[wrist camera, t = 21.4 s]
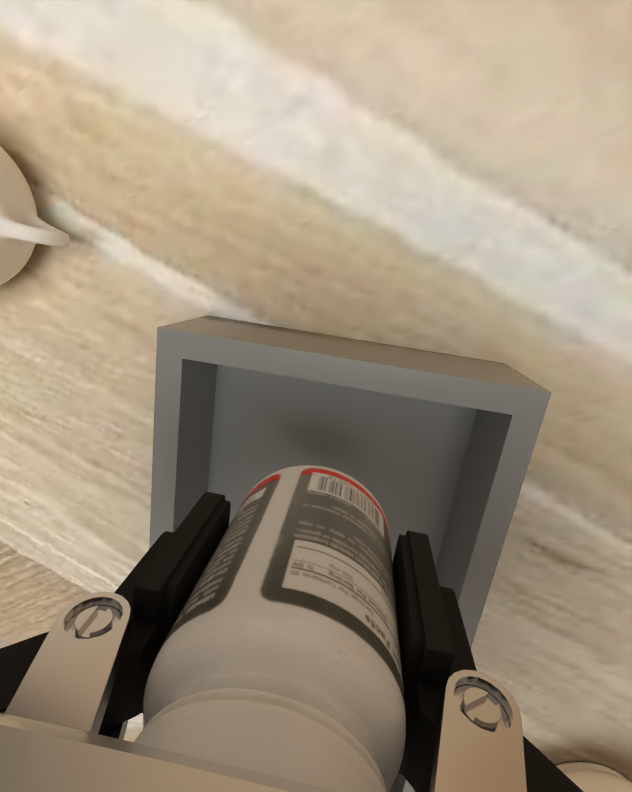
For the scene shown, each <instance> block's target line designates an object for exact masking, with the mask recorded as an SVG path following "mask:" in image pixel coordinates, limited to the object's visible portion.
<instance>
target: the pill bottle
mask: <svg viewBox="0 0 632 792" xmlns="http://www.w3.org/2000/svg"><path fill="white" fill-rule="evenodd" d="M143 717H144V726H145V728H144V729H143V731H142V732H141V733H140V734H139V736H138V737H137V739H136V740H135V741H134V743H137V744H142V745H146V746H150V747H154V748H159V749H163V750H167V751H171V752H176V753H180V754H184V755H188V756H192V757H196V758H201V759H205V760H209V761H213V762H217V763H221V764H225V765H230V766H234V767H238V768H242V769H246V770H250V771H254V772H259V773H263V774H267V775H271V776H275V777H279V778H283V779H287V780H291V781H296V782H300V783H304V784H308V785H312V786H316V787H320V788H324V789H328V790H332V791H336V792H389V790H390V789H391V787H392V785H393V783H394V781H395V779H396V777H397V774H398V772H399V769H400V766H401V763H402V759H403V754H404V748H405V739H406V713H405V701H404V689H403V679H402V665H401V656H400V643H399V635H398V617H397V608H396V598H395V586H394V576H393V567H392V554H391V543H390V535H389V528H388V524H387V520H386V517H385V515H384V512H383V510H382V508H381V506H380V505H379V503H378V501H377V500H376V499H375V497H374V496H373V495H372V494H371V493H370V491H369V490H368V489H367V488H365V487H364V486H363V485H362V484H361V483H360V482H358V481H357V480H355V479H354V478H352V477H351V476H349V475H347V474H345V473H343V472H340V471H338V470H335V469H331V468H328V467H322V466H311V465H303V466H293V467H288V468H284V469H281V470H279V471H276V472H274V473H272V474H270V475H268V476H267V477H265V478H264V479H262V480H261V481H260V482H259V483H257V484H256V485H255V486H254V487H253V488H252V489H251V491H250V492H249V493H248V494H247V496H246V497H245V499H244V500H243V502H242V504H241V506H240V507H239V509H238V511H237V513H236V515H235V517H234V518H233V520H232V522H231V524H230V525H229V527H228V529H227V530H226V532H225V534H224V536H223V538H222V539H221V541H220V543H219V545H218V546H217V548H216V550H215V552H214V554H213V555H212V557H211V559H210V561H209V563H208V564H207V566H206V568H205V570H204V571H203V573H202V575H201V577H200V579H199V580H198V582H197V584H196V586H195V587H194V589H193V591H192V593H191V595H190V596H189V598H188V600H187V602H186V603H185V605H184V607H183V609H182V611H181V612H180V614H179V616H178V618H177V620H176V621H175V623H174V625H173V627H172V629H171V630H170V632H169V634H168V635H167V637H166V639H165V641H164V642H163V644H162V646H161V649H160V651H159V653H158V655H157V657H156V659H155V661H154V664H153V666H152V668H151V671H150V673H149V676H148V679H147V683H146V687H145V693H144V700H143Z"/></svg>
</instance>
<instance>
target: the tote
mask: <svg viewBox="0 0 632 792" xmlns="http://www.w3.org/2000/svg"><path fill="white" fill-rule="evenodd" d="M550 394H551V392H549V391H548V390H546V389H544V388H543V387H541V386H540V385H538V384H537V383H535V382H533V381H532V380H530V379H529V378H527V377H526V376H524V375H522V374H521V373H519V372H518V371H516V370H515V369H513V368H511V367H510V366H508V365H507V364H503V363H497V362H490V361H484V360H478V359H472V358H466V357H460V356H453V355H447V354H441V353H435V352H429V351H423V350H416V349H410V348H404V347H398V346H392V345H386V344H379V343H373V342H367V341H361V340H355V339H348V338H342V337H336V336H330V335H324V334H318V333H311V332H305V331H299V330H293V329H287V328H281V327H274V326H268V325H262V324H256V323H250V322H244V321H237V320H231V319H225V318H219V317H213V316H205V317H200V318H196V319H192V320H187V321H183V322H179V323H174V324H170V325H166V326H161V327H158V329H157V357H156V384H155V411H154V438H153V466H152V493H151V520H150V547H149V549H150V548H151V547H152V545H153V544H154V543H155V542H156V540H157V539H158V538H159V537H160V535H161V534H162V533H163V532H165V531H169V532H175V531H176V529H177V528H178V527H179V525H180V524H181V523H182V522H183V520H184V519H185V518H186V516H187V515H188V514H189V512H190V511H191V510H192V508H193V507H194V506H195V504H196V503H197V502H198V500H199V499H200V498H201V497H202V495H203V494H204V493H205V492H211V493H216V494H222V495H225V500H226V501H230V502H231V509H230V519H229V525H230V524H231V522H232V520H233V518H234V517H235V515H236V513H237V511H238V509H239V507H240V506H241V504H242V502H243V500H244V499H245V497H246V496H247V494H248V493H249V492H250V491H251V489H252V488H253V487H254V486H255V485H256V484H257V483H259V482H260V481H261V480H262V479H264V478H265V477H267V476H268V475H270V474H272V473H274V472H276V471H279V470H281V469H284V468H288V467H293V466H303V465H311V466H322V467H328V468H331V469H335V470H338V471H340V472H343V473H345V474H347V475H349V476H351V477H352V478H354V479H355V480H357V481H358V482H360V483H361V484H362V485H363V486H364V487H365V488H367V489H368V490H369V491H370V493H371V494H372V495H373V496H374V497H375V499H376V500H377V501H378V503H379V505H380V506H381V508H382V510H383V512H384V515H385V517H386V520H387V524H388V528H389V535H390V543H391V554H392V562H393V558H394V553H395V549H396V545H397V540H398V537H399V535H400V534H401V535H406V532H407V531H413V532H418V533H423V534H427V535H428V537H429V542H430V546H431V550H432V555H433V559H434V563H435V568H436V572H437V577H438V581H439V585H440V586H441V587H446V588H451V589H453V590H454V592H455V594H456V598H457V601H458V605H459V609H460V612H461V616H462V620H463V623H464V627H465V631H466V634H467V638H468V642H469V645H470V648H471V645H472V642H473V639H474V636H475V632H476V629H477V626H478V623H479V620H480V617H481V613H482V610H483V607H484V604H485V601H486V597H487V594H488V591H489V588H490V585H491V582H492V578H493V575H494V572H495V569H496V566H497V563H498V559H499V556H500V553H501V550H502V547H503V543H504V540H505V537H506V534H507V531H508V528H509V524H510V521H511V518H512V515H513V512H514V508H515V505H516V502H517V499H518V496H519V493H520V489H521V486H522V483H523V480H524V477H525V474H526V470H527V467H528V464H529V461H530V458H531V454H532V451H533V448H534V445H535V442H536V439H537V435H538V432H539V429H540V426H541V423H542V420H543V416H544V413H545V410H546V407H547V404H548V400H549V397H550ZM144 728H145V726H144V717H143V729H144ZM389 792H414V789H413V788H412V786H411V785H410V784H409V783H408V781H407V780H406V779H405V778H404V776H403V775H402V774H397V777H396V779H395V781H394V783H393V785H392V787H391V789H390V790H389Z"/></svg>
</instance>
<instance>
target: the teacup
mask: <svg viewBox="0 0 632 792" xmlns="http://www.w3.org/2000/svg"><path fill="white" fill-rule="evenodd" d="M37 243H38V244H44V245H50V246H57V247H67V246H68V245H69V235H68V234H67V233H65V232H63V231H61V230H58V229H56V228H54V227H52V226H50V225H49V224H47V223H45V222H44V221H42V220H41V219H40V218H39V217H38V216H37V210H36V205H35V201H34V198H33V195H32V192H31V190H30V187H29V185H28V183H27V181H26V179H25V177H24V176H23V174H22V172H21V171H20V169H19V168H18V166H17V165H16V163H15V162H14V161H13V160H12V158H11V157H10V156H9V155H8V154H7V152H6V151H5V150H4V149H3V148H2V147H1V146H0V285H2V284H4V283H6V282H7V281H9V280H10V279H11V278H13V277H14V276H15V275H16V274H18V273H19V272H20V271H21V269H22V268H23V267H24V266H25V264H26V263H27V261H28V260H29V258H30V256H31V254H32V252H33V249H34V247H35V244H37Z"/></svg>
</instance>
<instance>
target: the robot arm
mask: <svg viewBox="0 0 632 792" xmlns="http://www.w3.org/2000/svg"><path fill="white" fill-rule="evenodd" d="M230 509H231V502H230V501H226V500H225V495H222V494H216V493H211V492H205V493H204V494H203V495H202V497H201V498H200V499H199V500H198V502H197V503H196V504H195V506H194V507H193V508H192V510H191V511H190V512H189V514H188V515H187V516H186V518H185V519H184V520H183V522H182V523H181V524H180V525H179V527H178V528H177V529H176V531H175V532H169V531H165V532H163V533H162V534H161V535H160V537H159V538H158V539H157V540H156V542H155V543H154V544H153V545H152V547H151V548H150V549H149V550H148V552H147V553H146V554H145V555H144V557H143V558H142V559H141V560H140V562H139V563H138V564H137V565H136V567H135V568H134V569H133V570H132V572H131V573H130V574H129V575H128V577H127V578H126V579H125V580H124V582H123V583H122V584H121V585H120V586H119V588H118V589H117V590H116V591H115V593H111V592H97V593H92V594H88V595H85V596H82V597H80V598H78V599H76V600H74V601H72V602H71V603H70V604H69V605H67V606H66V607H65V608H64V609H63V610H62V611H61V613H60V614H59V615H58V616H57V618H56V620H55V622H54V624H53V626H52V627H51V629H50V631H49V632H46V633H43V634H41V635H38V636H35V637H32V638H29V639H27V640H24V641H21V642H18V643H15V644H12V645H10V646H7V647H4V648H1V649H0V792H336V791H332V790H328V789H324V788H320V787H316V786H312V785H308V784H304V783H300V782H296V781H291V780H287V779H283V778H279V777H275V776H271V775H267V774H263V773H259V772H254V771H250V770H246V769H242V768H238V767H234V766H230V765H225V764H221V763H217V762H213V761H209V760H205V759H201V758H196V757H192V756H188V755H184V754H180V753H176V752H171V751H167V750H163V749H159V748H154V747H150V746H146V745H142V744H137V743H133V742H129V741H125V740H123V739H124V735H125V732H126V728H127V723H128V720H129V719H131V718H133V717H135V716H137V715H139V714H141V713H143V700H144V693H145V687H146V683H147V679H148V676H149V673H150V671H151V668H152V666H153V664H154V661H155V659H156V657H157V655H158V653H159V651H160V649H161V646H162V644H163V642H164V641H165V639H166V637H167V635H168V634H169V632H170V630H171V629H172V627H173V625H174V623H175V621H176V620H177V618H178V616H179V614H180V612H181V611H182V609H183V607H184V605H185V603H186V602H187V600H188V598H189V596H190V595H191V593H192V591H193V589H194V587H195V586H196V584H197V582H198V580H199V579H200V577H201V575H202V573H203V571H204V570H205V568H206V566H207V564H208V563H209V561H210V559H211V557H212V555H213V554H214V552H215V550H216V548H217V546H218V545H219V543H220V541H221V539H222V538H223V536H224V534H225V532H226V530H227V529H228V527H229V519H230ZM392 567H393V576H394V586H395V598H396V608H397V617H398V635H399V643H400V656H401V665H402V679H403V689H404V701H405V713H406V739H405V748H404V754H403V759H402V763H401V766H400V769H399V772H398V774H402V775H403V776H404V778H405V779H406V780H407V781H408V783H409V784H410V785H411V786H412V788H413V789H414V792H583V791H582V790H581V789H580V788H579V787H578V786H577V785H576V784H575V783H574V782H573V781H572V780H571V779H569V778H568V777H567V776H566V775H565V774H564V773H563V772H562V771H561V770H560V769H559V768H558V767H556V766H555V765H554V764H553V763H552V762H551V761H550V760H549V759H548V758H547V757H546V756H545V755H544V754H542V753H541V752H540V751H539V750H538V749H537V748H536V747H535V746H534V745H533V744H532V743H531V742H529V741H528V740H527V739H526V738H525V737H524V736H523V733H522V720H521V716H520V711H519V708H518V706H517V704H516V703H515V701H514V699H513V697H512V696H511V695H510V694H509V693H508V691H507V690H506V689H505V688H504V687H503V686H502V685H500V684H499V683H498V682H497V681H496V680H494V679H493V678H491V677H489V676H487V675H485V674H484V673H480V672H477V671H476V667H475V664H474V660H473V656H472V653H471V649H470V645H469V642H468V638H467V634H466V631H465V627H464V623H463V620H462V616H461V612H460V609H459V605H458V601H457V598H456V594H455V592H454V590H453V589H451V588H446V587H441V586H440V585H439V581H438V577H437V572H436V568H435V563H434V559H433V555H432V550H431V546H430V542H429V537H428V535H427V534H423V533H418V532H413V531H407V532H406V535H401V534H400V535H399V537H398V540H397V545H396V549H395V553H394V558H393V562H392Z"/></svg>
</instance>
